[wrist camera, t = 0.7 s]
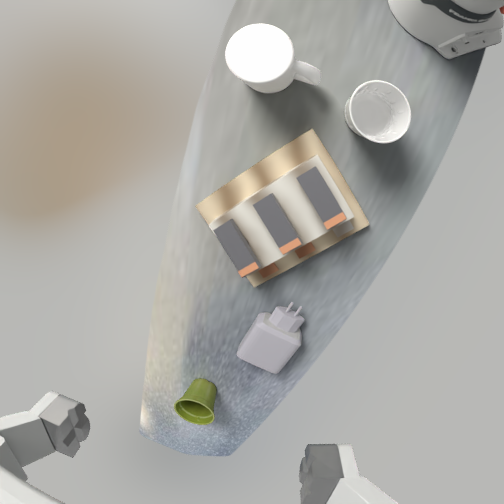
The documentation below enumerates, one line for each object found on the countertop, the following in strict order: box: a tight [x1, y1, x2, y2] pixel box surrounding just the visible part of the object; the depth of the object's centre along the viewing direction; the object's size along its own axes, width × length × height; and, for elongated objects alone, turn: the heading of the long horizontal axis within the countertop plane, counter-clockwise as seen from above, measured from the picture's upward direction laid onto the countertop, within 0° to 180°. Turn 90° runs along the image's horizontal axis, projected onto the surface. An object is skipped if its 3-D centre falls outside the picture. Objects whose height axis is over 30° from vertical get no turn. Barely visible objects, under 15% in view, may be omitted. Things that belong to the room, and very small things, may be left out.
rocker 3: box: [297, 166, 347, 230], centre depth 39 cm, size 3×8×2 cm, turn 35°
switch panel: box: [195, 129, 370, 287], centre depth 45 cm, size 22×17×6 cm
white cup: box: [344, 80, 411, 143], centre depth 35 cm, size 8×8×10 cm
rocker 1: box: [213, 219, 262, 278], centre depth 44 cm, size 3×8×2 cm, turn 34°
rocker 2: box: [253, 193, 303, 255], centre depth 42 cm, size 3×8×2 cm, turn 34°
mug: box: [225, 24, 321, 93], centre depth 35 cm, size 8×10×12 cm
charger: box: [237, 302, 305, 374], centre depth 55 cm, size 5×9×15 cm
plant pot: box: [174, 379, 216, 425], centre depth 63 cm, size 9×9×9 cm
